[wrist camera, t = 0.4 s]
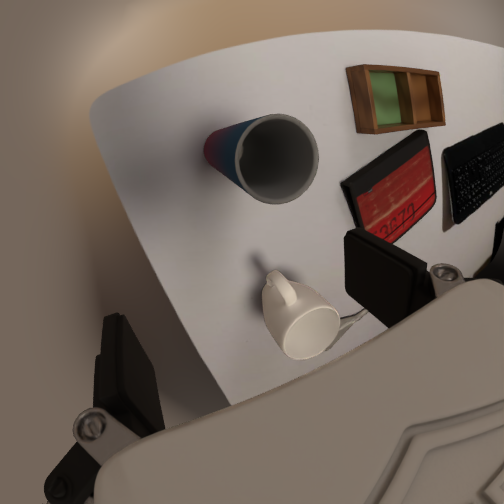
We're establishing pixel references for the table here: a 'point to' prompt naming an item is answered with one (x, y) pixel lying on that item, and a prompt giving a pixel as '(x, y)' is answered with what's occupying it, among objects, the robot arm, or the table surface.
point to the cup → (266, 157)
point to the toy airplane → (346, 326)
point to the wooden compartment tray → (395, 98)
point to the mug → (298, 317)
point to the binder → (394, 189)
